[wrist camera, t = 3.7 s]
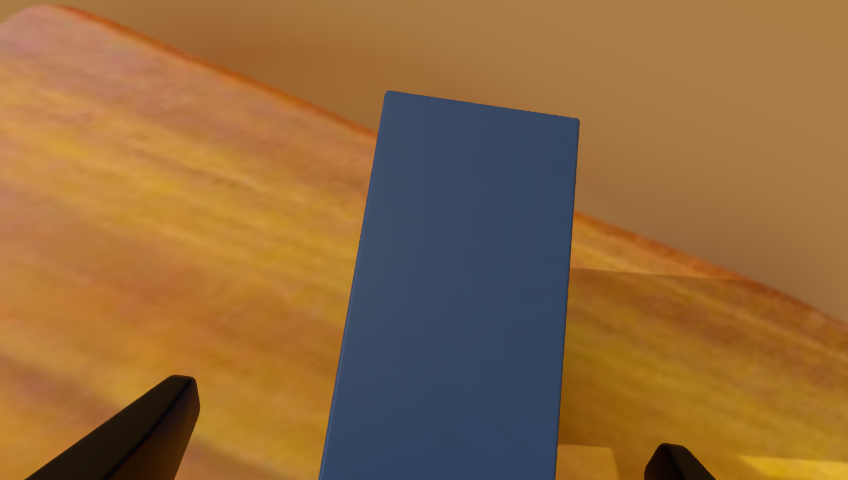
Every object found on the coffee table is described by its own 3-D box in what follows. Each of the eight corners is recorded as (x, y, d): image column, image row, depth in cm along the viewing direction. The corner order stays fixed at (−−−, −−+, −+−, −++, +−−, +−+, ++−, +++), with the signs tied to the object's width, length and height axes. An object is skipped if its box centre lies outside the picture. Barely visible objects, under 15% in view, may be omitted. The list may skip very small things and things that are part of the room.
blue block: (469, 265, 20) (581, 117, 8) (449, 437, 18) (547, 603, 6) (394, 254, 20) (385, 88, 7) (368, 426, 18) (302, 569, 6)
